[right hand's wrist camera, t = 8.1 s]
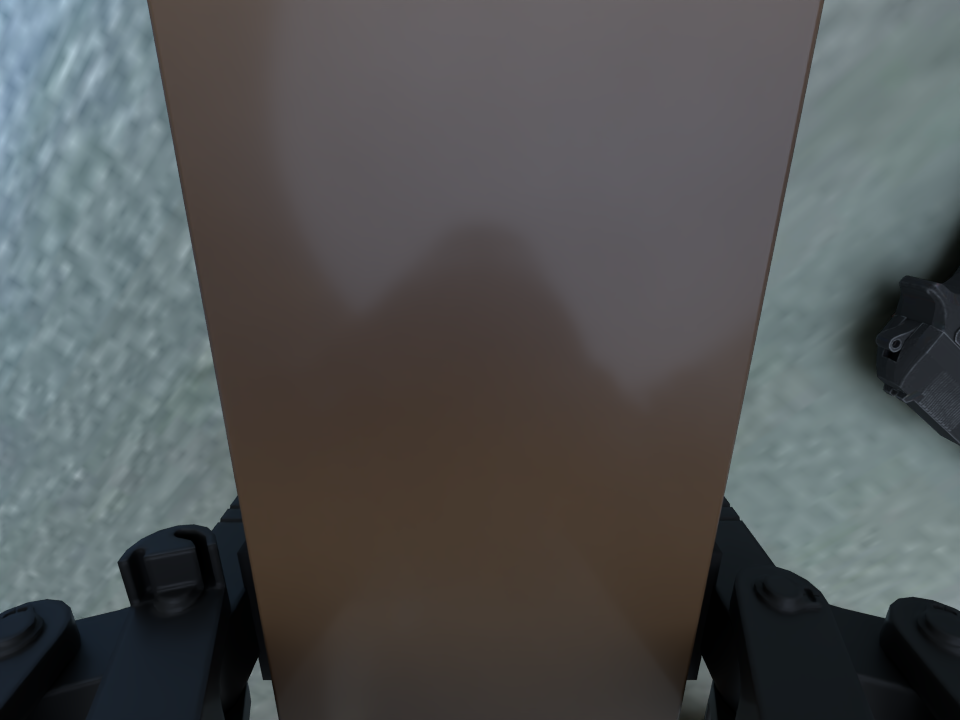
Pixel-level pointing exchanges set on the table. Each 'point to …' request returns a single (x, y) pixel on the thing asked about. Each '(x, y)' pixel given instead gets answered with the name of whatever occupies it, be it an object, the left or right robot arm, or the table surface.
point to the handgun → (925, 352)
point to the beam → (482, 329)
